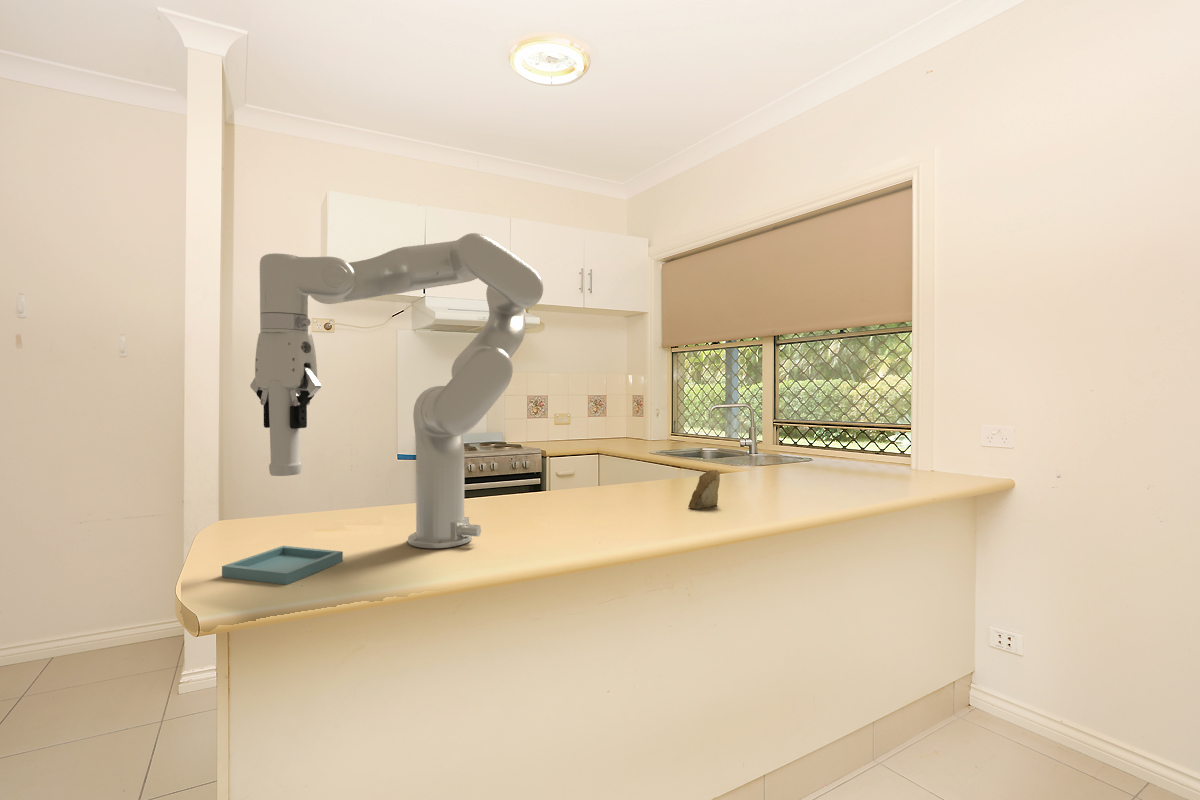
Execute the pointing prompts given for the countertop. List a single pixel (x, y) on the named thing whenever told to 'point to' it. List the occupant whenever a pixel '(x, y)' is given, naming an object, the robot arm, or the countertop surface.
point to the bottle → (282, 433)
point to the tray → (282, 564)
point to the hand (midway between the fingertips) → (285, 426)
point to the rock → (706, 490)
